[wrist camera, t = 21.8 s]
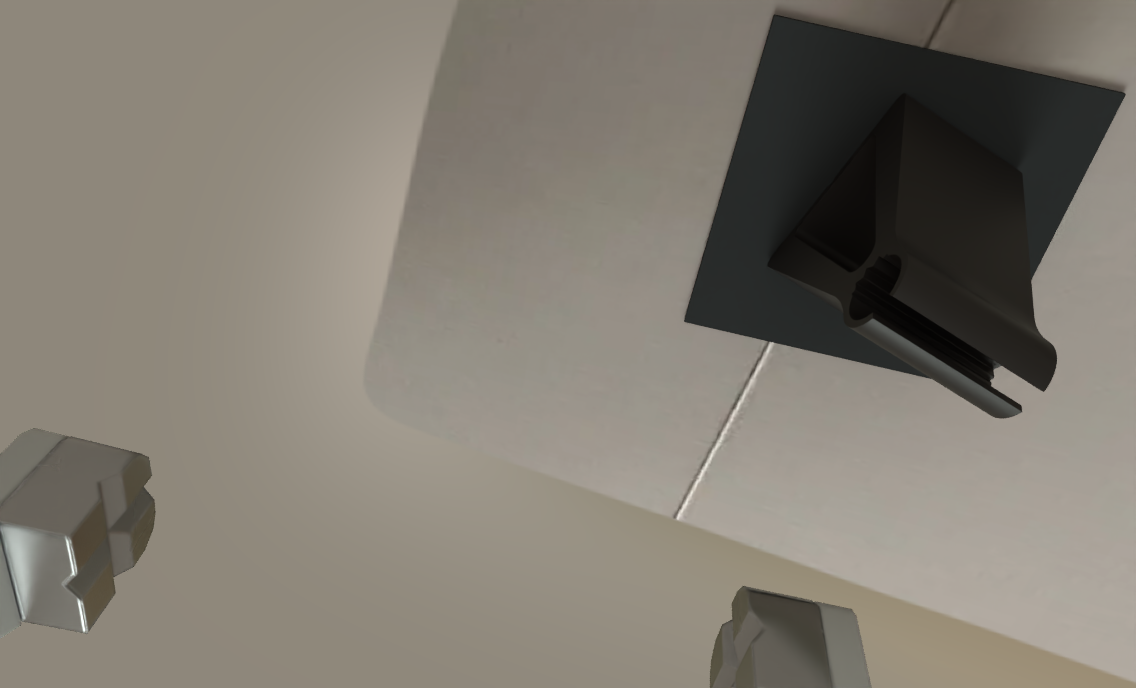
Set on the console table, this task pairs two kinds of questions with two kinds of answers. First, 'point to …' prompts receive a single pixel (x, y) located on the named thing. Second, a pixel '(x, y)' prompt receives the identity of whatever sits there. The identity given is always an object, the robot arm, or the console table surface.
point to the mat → (832, 135)
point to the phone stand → (927, 256)
